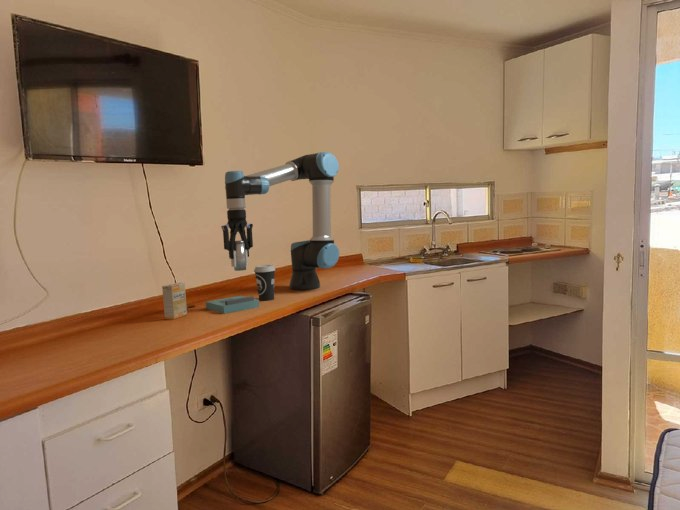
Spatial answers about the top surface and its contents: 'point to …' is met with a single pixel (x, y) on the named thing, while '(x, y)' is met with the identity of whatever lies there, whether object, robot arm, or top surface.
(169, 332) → the top surface
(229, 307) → the jig
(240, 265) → the metal cylinder
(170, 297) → the supplement box
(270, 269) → the coffee cup
